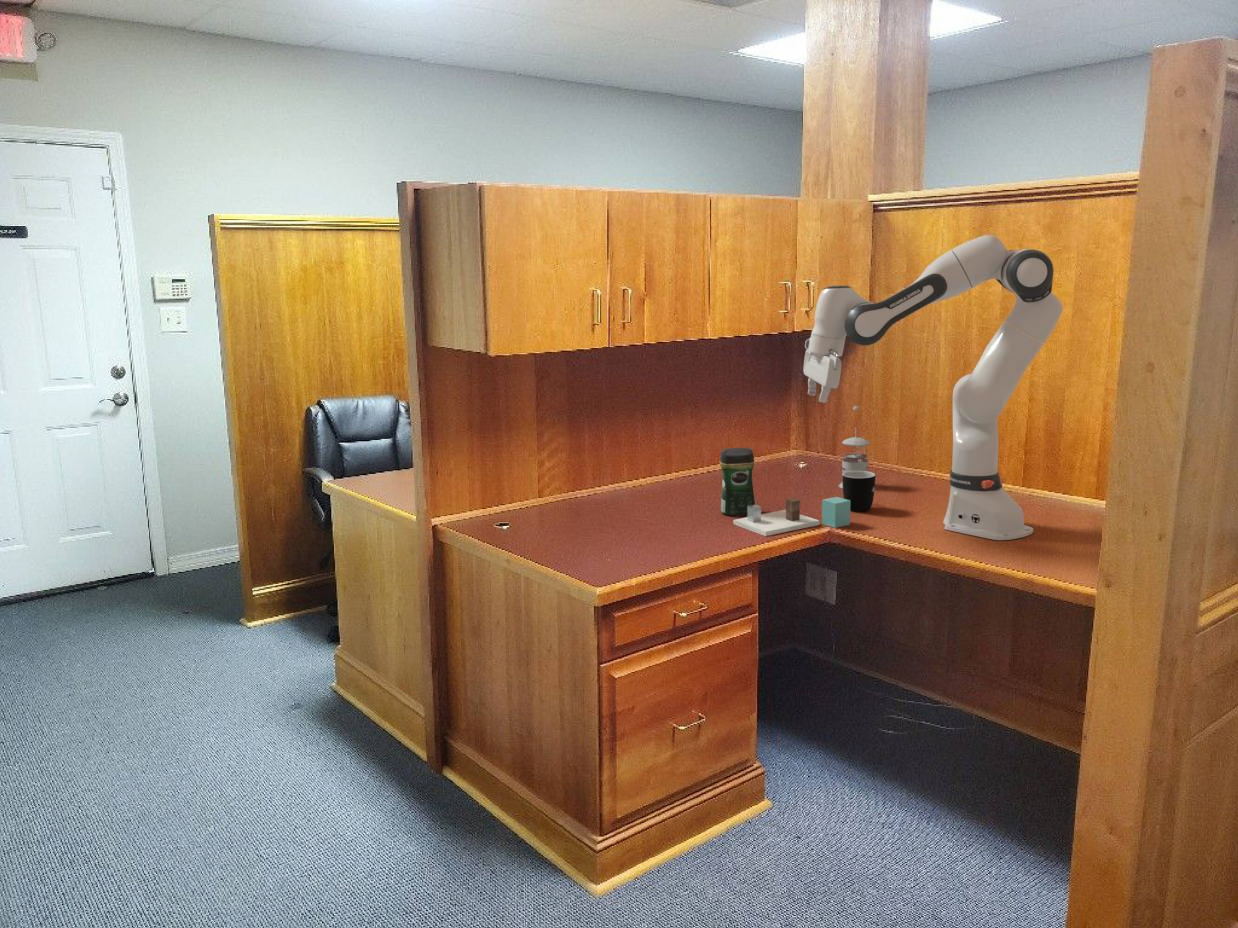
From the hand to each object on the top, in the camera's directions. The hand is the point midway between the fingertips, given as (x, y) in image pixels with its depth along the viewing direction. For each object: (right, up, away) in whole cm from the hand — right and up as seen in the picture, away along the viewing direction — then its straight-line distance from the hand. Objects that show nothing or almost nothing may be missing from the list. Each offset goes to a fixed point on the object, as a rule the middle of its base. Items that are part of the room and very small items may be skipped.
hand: (816, 398), depth 258 cm
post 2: (-6, -32, +3) cm, 33 cm away
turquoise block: (+6, -33, +2) cm, 34 cm away
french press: (+21, -24, +43) cm, 53 cm away
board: (-10, -34, +3) cm, 35 cm away
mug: (+15, -30, +17) cm, 38 cm away
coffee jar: (-19, -31, +17) cm, 40 cm away
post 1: (-16, -33, +3) cm, 36 cm away
